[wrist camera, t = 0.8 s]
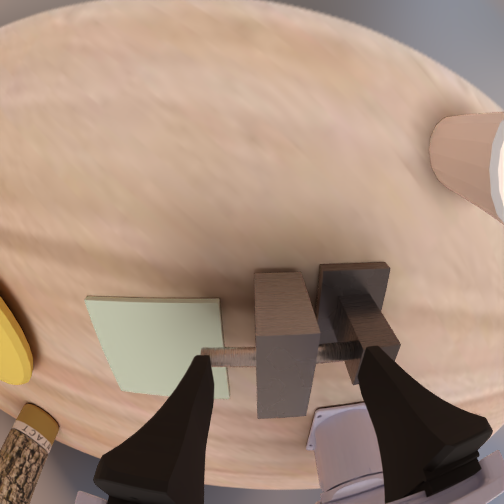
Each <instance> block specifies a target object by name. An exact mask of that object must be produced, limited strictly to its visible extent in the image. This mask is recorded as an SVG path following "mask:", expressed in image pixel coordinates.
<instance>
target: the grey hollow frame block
mask: <svg viewBox="0 0 504 504" xmlns="http://www.w3.org/2000/svg"><path fill="white" fill-rule="evenodd" d="M254 289H255V337H256V378H257V417H258V419H264V418H285V417H299V416H306V413H307V408H308V403H309V398H310V393H311V387H312V382H313V377H314V371H315V365H316V359H317V353H318V347H319V341H320V334H321V333H320V329H319V326H318V323H317V320H316V317H315V314H314V311H313V307H312V304H311V301H310V298H309V295H308V292H307V289H306V286H305V283H304V280H303V277H302V274H301V272H281V273H254Z"/></svg>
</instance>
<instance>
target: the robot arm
mask: <svg viewBox="0 0 504 504" xmlns="http://www.w3.org/2000/svg"><path fill="white" fill-rule="evenodd" d="M358 381H359V385H360V390H361V394H362V397H363V399H364V403H358V404H352V405H346V406H339V407H331V408H323V409H318V410H316V411H315V415H314V419H313V423H312V426H311V430H310V434H309V438H308V441H307V445H306V450H314V452H315V459H316V465H317V471H318V478H319V484H320V487H321V489H322V491H323V492H324V493H321V494H320V495H321V501H317V502H316V503H315V504H487V503H488V502H490V501H491V500H493V499H494V498H496V497H497V496H499V495H500V494H501V493H503V492H504V460H503V458H502V455H501V453H500V452H499V450H497V451H495V452H493V453H492V454H490V455H489V456H487V457H485V458H483V459H482V460H481V461H479V462H478V460H477V457H479V452H478V449H479V448H480V447H481V446H482V445H483V444H484V443H485V442H486V441H487V440H488V439H489V438H490V436H491V435H492V432H493V430H492V428H491V426H490V425H489V423H488V421H487V419H486V418H485V417H482V416H478V415H475V414H472V413H469V412H467V411H465V410H462V409H460V408H458V407H456V406H454V405H452V404H450V403H448V402H446V401H444V400H442V399H441V398H439V397H438V396H436V395H435V394H433V393H432V392H430V391H429V390H427V389H426V388H424V387H423V386H422V385H421V384H419V383H418V382H417V381H416V380H414V379H413V378H412V377H411V376H410V375H409V374H407V373H406V372H405V371H404V370H403V369H402V368H401V367H400V366H399V365H398V364H397V363H396V362H395V361H394V360H393V359H391V358H390V357H389V356H388V355H387V354H386V353H385V352H384V351H383V350H382V349H381V348H380V347H379V346H378V345H377V346H369V347H366V350H365V353H364V356H363V360H362V363H361V366H360V369H359V373H358ZM213 402H214V379H213V373H212V367H211V361H210V355H196V356H195V357H194V358H193V360H192V362H191V364H190V366H189V368H188V370H187V371H186V373H185V375H184V376H183V378H182V379H181V381H180V382H179V384H178V386H177V387H176V389H175V390H174V391H173V393H172V394H171V395H170V397H169V398H168V399H167V401H166V402H165V403H164V405H163V406H162V407H161V408H160V409H159V410H158V412H157V413H156V414H155V415H154V416H153V417H152V418H151V419H150V420H149V421H148V422H147V423H146V424H145V425H144V426H143V427H142V428H141V429H139V430H138V431H137V432H136V433H135V434H133V435H132V436H131V437H130V438H128V439H127V440H126V441H124V442H123V443H122V444H120V445H119V446H117V447H116V448H114V449H112V450H111V451H109V452H108V453H106V454H104V455H103V456H102V457H101V460H100V461H99V464H98V466H97V469H96V472H95V475H94V479H93V481H94V483H95V485H97V486H98V487H99V488H100V489H101V490H103V491H104V492H105V493H107V494H108V495H109V499H108V501H107V500H105V499H103V498H100V497H97V496H94V495H91V494H88V493H85V492H82V491H78V493H77V497H76V500H75V503H74V504H204V471H205V451H206V443H207V437H208V431H209V426H210V420H211V415H212V409H213Z"/></svg>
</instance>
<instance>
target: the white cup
mask: <svg viewBox="0 0 504 504" xmlns="http://www.w3.org/2000/svg"><path fill="white" fill-rule="evenodd" d="M429 155H430V161H431V167H432V169H433V171H434V173H435V175H436V177H437V179H438V180H439V181H440V182H441V183H442V184H443V185H444V186H446V187H447V188H448V189H450V190H452V191H453V192H455V193H457V194H458V195H460V196H462V197H463V198H465V199H467V200H468V201H470V202H471V203H473V204H474V205H476V206H477V207H479V208H481V209H482V210H484V211H485V212H487V213H488V214H489V215H491V216H492V217H494V218H495V219H497V220H498V221H499V222H501V223H502V224H504V112H493V113H479V114H467V115H458V116H450V117H445V118H444V119H442V120H441V121H440V122H439V123H438V124H437V125H436V126H435V129H434V131H433V133H432V135H431V138H430V147H429Z"/></svg>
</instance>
